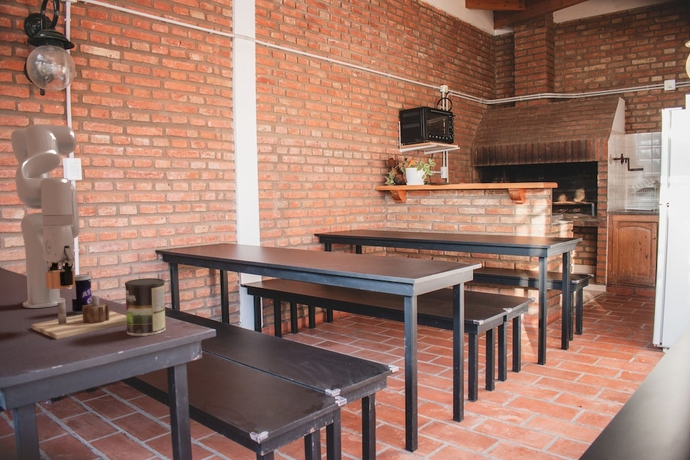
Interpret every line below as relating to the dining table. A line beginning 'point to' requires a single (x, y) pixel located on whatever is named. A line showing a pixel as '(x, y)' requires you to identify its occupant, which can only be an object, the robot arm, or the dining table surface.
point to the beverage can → (81, 292)
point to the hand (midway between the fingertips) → (60, 283)
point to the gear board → (81, 320)
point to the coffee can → (145, 306)
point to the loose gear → (56, 280)
